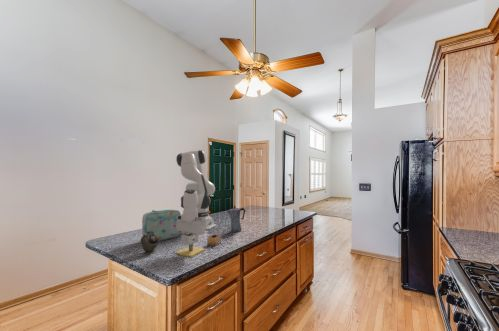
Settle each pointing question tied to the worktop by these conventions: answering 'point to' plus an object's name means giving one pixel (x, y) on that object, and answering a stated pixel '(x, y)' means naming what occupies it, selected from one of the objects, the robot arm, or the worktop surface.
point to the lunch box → (161, 224)
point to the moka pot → (235, 218)
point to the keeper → (190, 251)
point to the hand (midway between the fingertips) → (190, 239)
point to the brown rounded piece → (214, 240)
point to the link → (188, 239)
